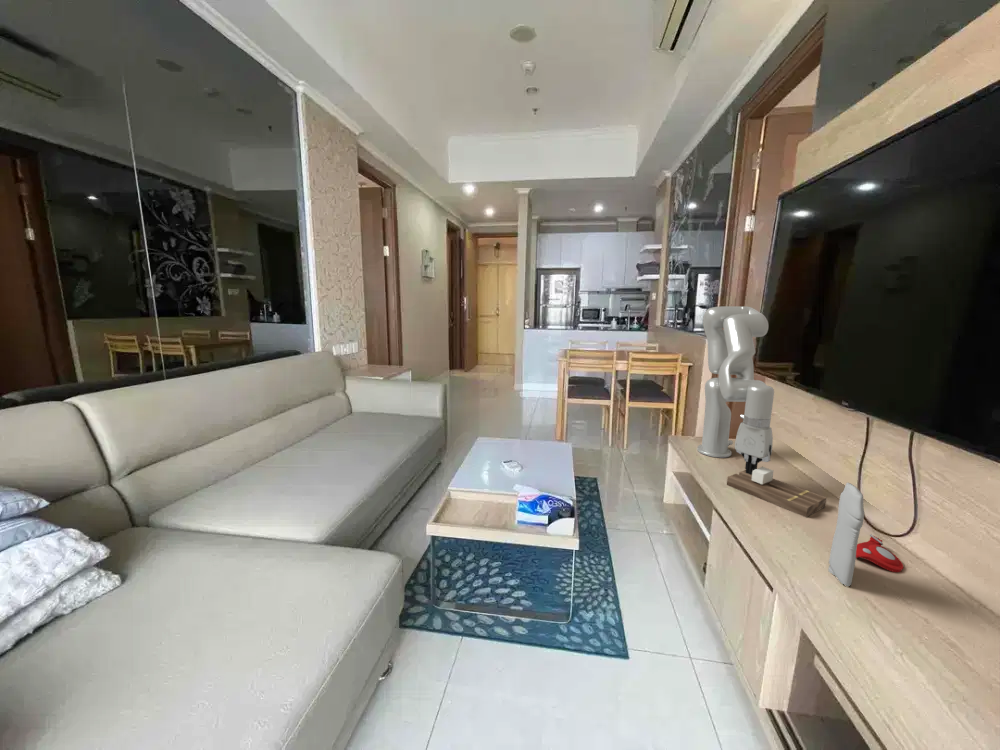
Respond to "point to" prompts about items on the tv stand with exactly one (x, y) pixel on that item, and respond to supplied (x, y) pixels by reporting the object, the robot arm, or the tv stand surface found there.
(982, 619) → the tv stand surface
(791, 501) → the fader console
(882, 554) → the tracker holder
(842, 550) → the tall pale column
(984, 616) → the tv stand surface
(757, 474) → the fader knob
